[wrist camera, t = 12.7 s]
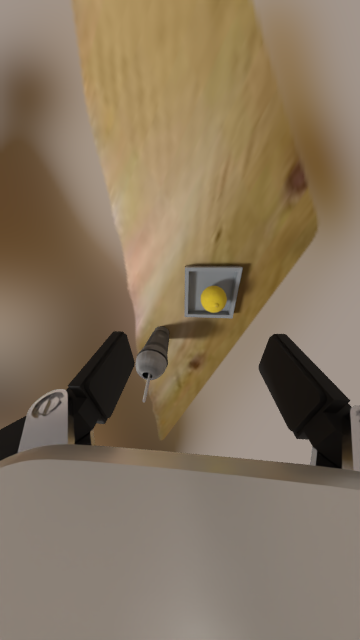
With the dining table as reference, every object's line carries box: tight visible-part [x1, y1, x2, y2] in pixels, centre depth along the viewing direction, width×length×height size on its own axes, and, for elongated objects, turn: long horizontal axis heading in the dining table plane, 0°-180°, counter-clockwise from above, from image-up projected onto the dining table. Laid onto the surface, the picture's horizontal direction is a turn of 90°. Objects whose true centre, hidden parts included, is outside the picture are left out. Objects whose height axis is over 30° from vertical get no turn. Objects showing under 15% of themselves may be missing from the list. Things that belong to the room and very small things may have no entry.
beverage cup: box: [136, 326, 169, 402], centre depth 33 cm, size 7×7×20 cm
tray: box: [185, 266, 243, 318], centre depth 33 cm, size 12×12×2 cm
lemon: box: [201, 286, 227, 313], centre depth 30 cm, size 6×6×8 cm
